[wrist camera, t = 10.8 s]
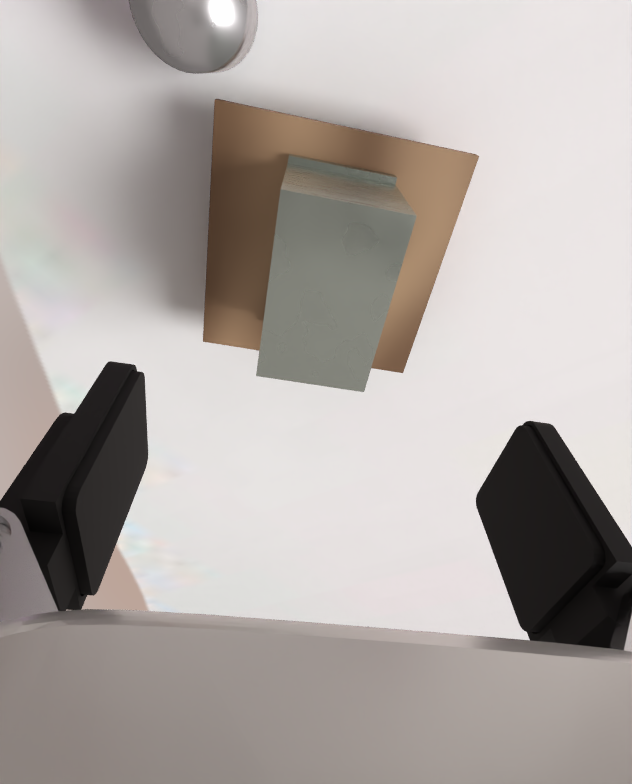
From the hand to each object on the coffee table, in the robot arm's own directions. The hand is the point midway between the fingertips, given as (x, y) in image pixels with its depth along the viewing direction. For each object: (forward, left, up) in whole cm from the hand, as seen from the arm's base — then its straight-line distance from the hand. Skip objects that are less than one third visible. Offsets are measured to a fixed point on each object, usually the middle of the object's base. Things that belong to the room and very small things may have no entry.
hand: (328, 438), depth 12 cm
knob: (-7, +9, -18) cm, 21 cm away
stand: (0, 0, -18) cm, 18 cm away
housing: (0, 0, -15) cm, 15 cm away
